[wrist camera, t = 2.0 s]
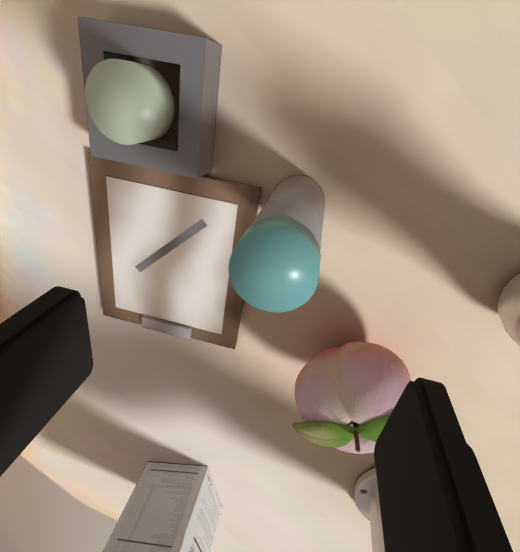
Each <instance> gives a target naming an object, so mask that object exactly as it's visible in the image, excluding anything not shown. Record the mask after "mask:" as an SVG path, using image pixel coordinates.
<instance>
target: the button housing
mask: <svg viewBox="0 0 520 552" xmlns="http://www.w3.org/2000/svg"><path fill="white" fill-rule="evenodd" d="M78 25H79V35H80V46H81V56H82V67H83V78H84V88H85V86H86V81H87V78H88V75H89V73H90V71H91V70H92V69H93V67H94V66H95V65H96V64H98V63H99V62H101V61H103V60H106V59H121V60H126V61H130V58H129V56H132V57H138V58H143V59H149V60H154V61H160V62H166V63H171V64H177V65H180V94H179V127H178V143H176V142H171V141H166V140H162V139H155V140H151V141H146V142H142V143H137V144H133V145H124V144H119V143H116V142H114V141H112V140H111V139H109V138H108V137H106V136H105V135H104V134H103V133H102V132H101V131H100V130H99V129H98V128H97V126H96V125H95V124H94V122H93V120H92V118H91V116H90V114H89V111H88V109H87V105H86V109H87V120H88V131H89V141H90V152H91V156H94V157H98V158H103V159H108V160H113V161H117V162H122V163H127V164H131V165H136V166H141V167H145V168H150V169H155V170H160V171H164V172H169V173H174V174H178V175H183V176H188V177H192V178H197V179H198V178H199V177H201V176H203V175H205V174H206V173H208V172H210V171H212V160H213V148H214V135H215V123H216V111H217V99H218V86H219V74H220V62H221V49H222V45H220V44H218V43H216V42H214V41H212V40H209V39H207V38H203V37H197V36H191V35H185V34H179V33H174V32H168V31H162V30H156V29H150V28H144V27H138V26H132V25H126V24H120V23H114V22H109V21H103V20H97V19H91V18H85V17H79V16H78Z"/></svg>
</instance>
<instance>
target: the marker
mask: <svg viewBox="0 0 520 552" xmlns="http://www.w3.org/2000/svg"><path fill="white" fill-rule="evenodd" d="M324 208H325V196H324V193H323V190H322V188H321V187H320V185H319V184H318V183H317V182H316V181H315V180H313V179H312V178H310V177H307V176H303V175H294V176H290V177H288V178H286V179H284V180H283V181H281V182H280V183H279V184H278V186H277V187H276V189H275V190H274V192H273V193H272V195H271V196H270V198H269V199H268V201H267V202H266V204H265V205H264V207H263V208H262V210H261V211H260V213H259V214H258V216H257V217H256V219H255V220H254V222H253V223H252V225H251V226H250V227H249V228H248V230H247V231H246V232H245V234H244V235H243V237H242V238H241V239H240V241H239V242H238V244H237V245H236V247H235V248H234V250H233V252H232V254H231V256H230V260H229V267H228V271H229V277H230V281H231V283H232V286H233V287H234V289H235V291H236V292H237V294H238V295H239V296H240V297H241V298H242V299H243V300H244V301H246V302H247V303H248V304H250V305H252V306H253V307H255V308H258V309H260V310H263V311H267V312H276V313H277V312H287V311H291V310H294V309H296V308H298V307H300V306H302V305H303V304H305V303H306V302H307V301H308V300H309V299H310V298H311V297H312V295H313V294H314V292H315V290H316V288H317V285H318V280H319V269H320V257H321V255H320V248H321V238H322V228H323V218H324Z"/></svg>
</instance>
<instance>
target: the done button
mask: <svg viewBox="0 0 520 552" xmlns="http://www.w3.org/2000/svg"><path fill="white" fill-rule="evenodd" d="M85 99H86V105H87V109H88V111H89V114H90V116H91V118H92V120H93V122H94V124H95V125H96V126H97V128H98V129H99V130H100V131H101V132H102V133H103V134H104V135H105V136H106V137H108V138H109V139H111V140H112V141H114V142H116V143H119V144H124V145H133V144H137V143H142V142H146V141H151V140H155V139H158V138H160V137H161V136H163V135H164V134H165V133H166V132H167V131H168V129H169V128H170V126H171V124H172V121H173V118H174V110H175V109H174V99H173V95H172V92H171V89H170V87H169V85H168V83H167V82H166V80H165V79H164V78H163V76H162V75H161V74H160V73H159V72H158V71H156V70H155V69H154V68H152V67H151V66H148V65H146V64H142V63H137V62H132V61H126V60H121V59H106V60H103V61H101V62H99V63H98V64H96V65H95V66H94V67H93V69H92V70H91V71H90V73H89V75H88V78H87V81H86V86H85Z"/></svg>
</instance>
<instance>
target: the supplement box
mask: <svg viewBox="0 0 520 552" xmlns="http://www.w3.org/2000/svg"><path fill="white" fill-rule="evenodd" d="M221 509H222V503H221V500H220V497H219V495H218V492H217V489H216V487H215V484H214V482H213V479H212V476H211V474H210V471H209V469H208V467H207V466H194V465H181V464H167V463H153V462H148V463H147V464H146V466H145V468H144V470H143V472H142V474H141V476H140V478H139V480H138V482H137V484H136V486H135V488H134V490H133V492H132V494H131V496H130V498H129V500H128V502H127V504H126V506H125V508H124V510H123V512H122V514H121V516H120V518H119V520H118V522H117V524H116V526H115V528H114V530H113V532H112V534H111V536H110V538H109V540H108V542H107V544H106V546H105V548H104V550H103V552H210V550H211V546H212V542H213V538H214V535H215V531H216V527H217V523H218V520H219V516H220V512H221Z"/></svg>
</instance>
